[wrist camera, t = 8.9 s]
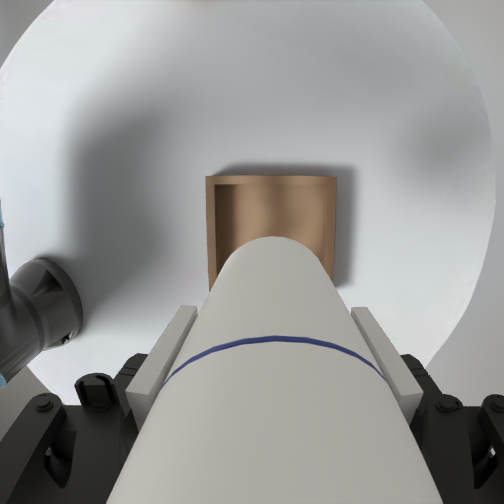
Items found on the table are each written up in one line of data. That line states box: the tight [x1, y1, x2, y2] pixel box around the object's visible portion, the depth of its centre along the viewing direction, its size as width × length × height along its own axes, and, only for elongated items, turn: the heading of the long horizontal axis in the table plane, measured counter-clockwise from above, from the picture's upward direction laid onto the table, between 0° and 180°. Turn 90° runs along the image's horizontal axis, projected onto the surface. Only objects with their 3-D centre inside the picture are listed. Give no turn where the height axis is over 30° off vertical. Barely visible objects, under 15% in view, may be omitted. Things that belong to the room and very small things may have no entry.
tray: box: [206, 175, 336, 293], centre depth 37 cm, size 15×15×3 cm
